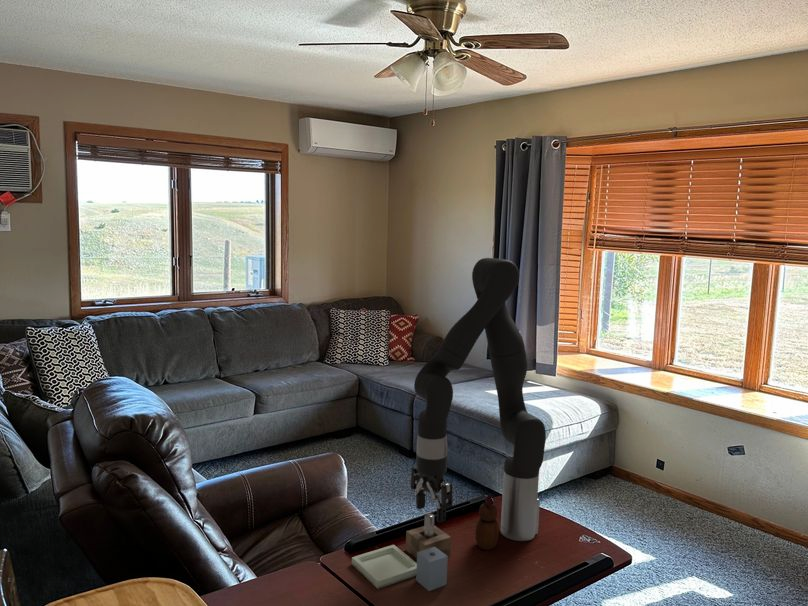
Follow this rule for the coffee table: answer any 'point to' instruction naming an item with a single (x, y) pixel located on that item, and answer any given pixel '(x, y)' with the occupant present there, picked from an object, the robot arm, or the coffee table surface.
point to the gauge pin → (429, 526)
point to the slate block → (431, 568)
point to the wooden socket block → (427, 541)
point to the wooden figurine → (487, 525)
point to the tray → (385, 566)
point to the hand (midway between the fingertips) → (430, 514)
